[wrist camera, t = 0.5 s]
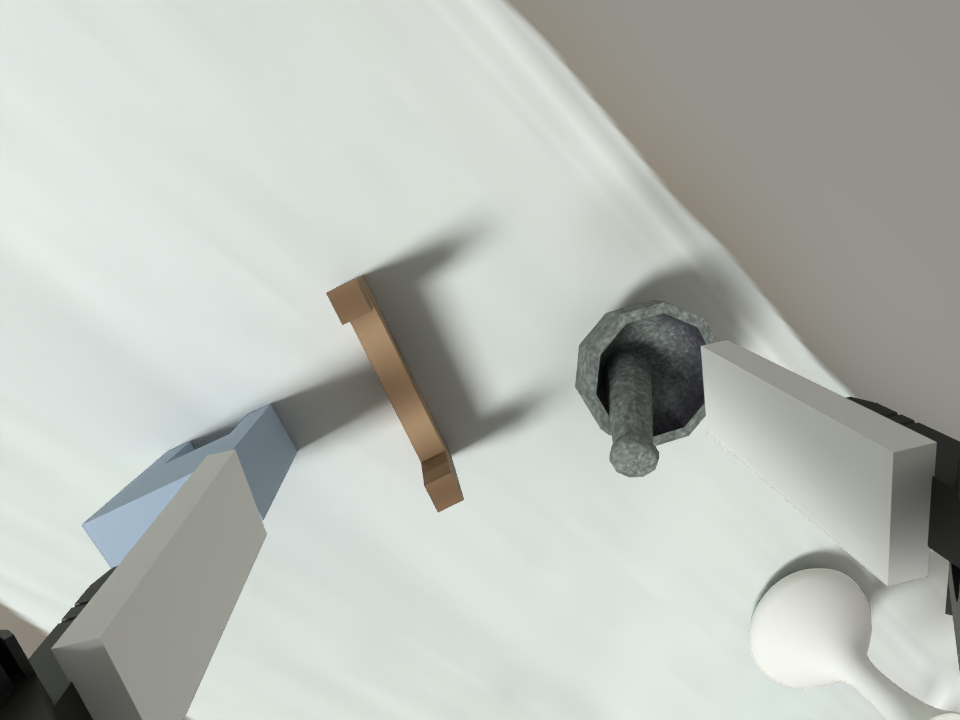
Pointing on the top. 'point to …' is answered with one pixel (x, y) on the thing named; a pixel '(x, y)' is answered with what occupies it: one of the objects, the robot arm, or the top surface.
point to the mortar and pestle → (644, 380)
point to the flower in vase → (826, 641)
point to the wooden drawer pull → (399, 389)
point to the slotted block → (145, 497)
